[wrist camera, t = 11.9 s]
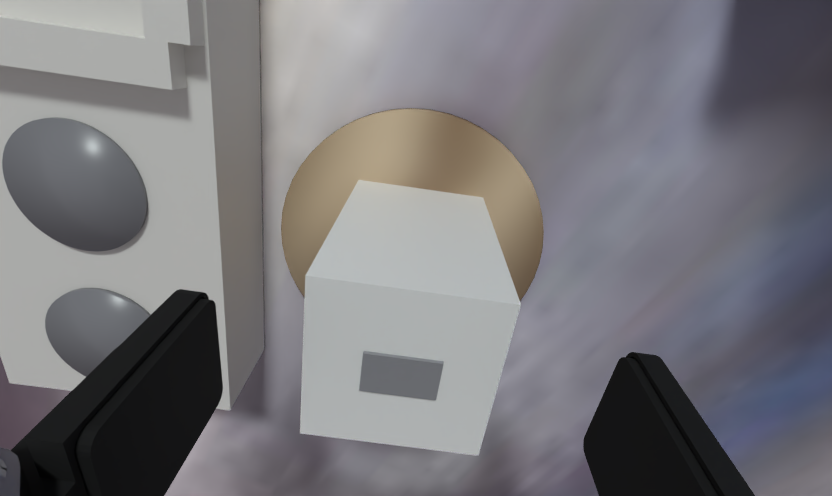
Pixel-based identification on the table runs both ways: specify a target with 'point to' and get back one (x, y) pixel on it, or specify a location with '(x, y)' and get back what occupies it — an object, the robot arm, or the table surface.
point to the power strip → (127, 179)
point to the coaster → (413, 182)
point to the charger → (406, 321)
